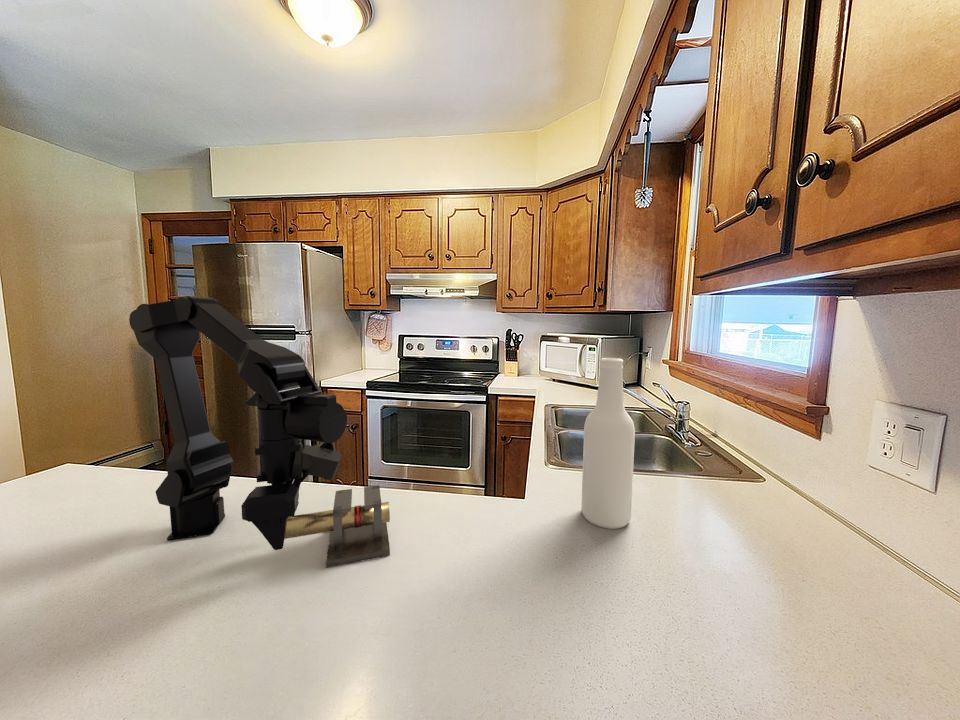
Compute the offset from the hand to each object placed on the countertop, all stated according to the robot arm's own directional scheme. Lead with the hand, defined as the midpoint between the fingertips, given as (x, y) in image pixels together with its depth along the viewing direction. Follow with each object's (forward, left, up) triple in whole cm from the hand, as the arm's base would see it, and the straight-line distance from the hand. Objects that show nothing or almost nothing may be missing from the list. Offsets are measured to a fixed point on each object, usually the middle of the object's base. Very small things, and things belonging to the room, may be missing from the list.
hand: (285, 531), depth 56 cm
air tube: (+7, 0, -1) cm, 7 cm away
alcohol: (+55, -7, -4) cm, 55 cm away
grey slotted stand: (+11, 0, -3) cm, 11 cm away
